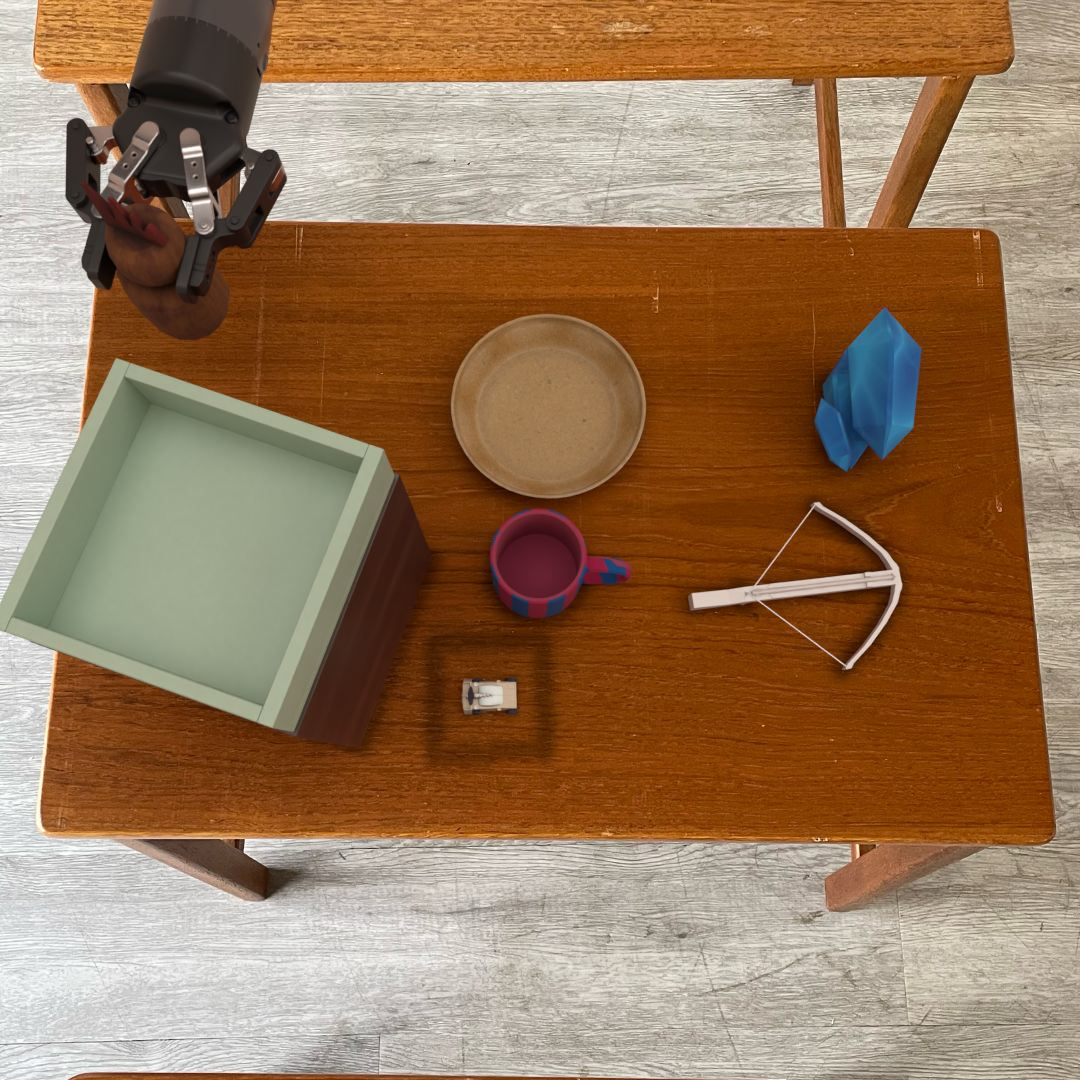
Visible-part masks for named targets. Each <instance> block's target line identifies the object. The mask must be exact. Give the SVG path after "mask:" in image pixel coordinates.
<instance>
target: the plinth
mask: <svg viewBox="0 0 1080 1080" xmlns="http://www.w3.org/2000/svg"><path fill="white" fill-rule="evenodd" d="M393 473H394V479H393V482H392V484H391V487H390V490H389V492H388V495H387V497H386V500H385V502H384V505H383V507H382V510H381V512H380V515H379V517H378V520H377V522H376V525H375V527H374V530H373V533H372V535H371V538H370V540H369V543H368V545H367V548H366V550H365V553H364V555H363V558H362V560H361V563H360V565H359V568H358V571H357V573H356V576H355V578H354V581H353V583H352V586H351V588H350V591H349V593H348V596H347V598H346V601H345V603H344V606H343V608H342V611H341V614H340V616H339V619H338V621H337V624H336V626H335V629H334V631H333V634H332V636H331V639H330V641H329V644H328V646H327V649H326V652H325V654H324V657H323V659H322V662H321V664H320V667H319V669H318V672H317V674H316V677H315V679H314V682H313V684H312V687H311V689H310V692H309V695H308V697H307V700H306V702H305V705H304V707H303V710H302V712H301V715H300V717H299V720H298V722H297V725H296V727H295V730H294V731H293V732H291V731H285V730H280V729H275V728H271V727H268V726H265V725H262V724H259V723H257V722H254V721H251V720H248V719H246V718H243V717H240V716H237V715H234V714H232V713H229V712H226V711H223V710H221V709H218V708H215V707H212V706H209V705H207V704H204V703H201V702H198V701H195V700H193V699H190V698H187V697H184V696H182V695H179V694H176V693H173V692H170V691H168V690H165V689H162V688H159V687H156V686H154V685H151V684H148V683H145V682H143V681H140V680H137V679H134V678H131V677H129V676H126V675H123V674H120V673H117V672H115V671H112V670H109V669H106V668H104V667H101V666H98V665H95V664H92V663H90V662H87V661H84V660H81V659H78V658H76V657H73V656H70V655H67V654H65V653H62V652H59V651H56V650H53V649H51V648H48V647H45V646H42V645H39V644H37V643H34V642H31V641H29V642H30V643H32V644H35V645H37V646H41V647H44V648H46V649H49V650H52V651H54V652H57V653H60V654H63V655H66V656H68V657H70V658H74V659H76V660H80V661H82V662H84V663H88V664H91V665H94V666H96V667H99V668H102V669H105V670H107V671H110V672H113V673H115V674H119V675H121V676H124V677H127V678H130V679H132V680H136V681H138V682H141V683H144V684H146V685H150V686H152V687H155V688H156V689H157V688H158V689H160V690H163V691H166V692H169V693H172V694H174V695H177V696H180V697H182V698H186V699H187V700H190V701H194V702H197V703H199V704H201V705H205V706H208V707H210V708H213V709H216V710H219V711H221V712H224V713H227V714H229V715H232V716H236V717H238V718H241V719H243V720H246V721H248V722H249V721H250V722H252V723H255V724H258V725H261V726H263V727H266V728H269V729H272V730H275V731H278V732H280V733H283V734H286V735H288V736H292V737H294V738H298V739H305V740H311V741H316V742H322V743H328V744H333V745H339V746H344V747H345V746H346V747H351V748H358V749H361V746H362V744H363V742H364V738H365V736H366V734H367V730H368V728H369V725H370V722H371V720H372V717H373V714H374V712H375V709H376V708H377V707H376V706H377V704H378V701H379V700H380V699H379V698H380V697H381V694H382V691H383V688H384V686H385V683H386V680H387V677H388V675H389V672H390V670H391V667H392V664H393V661H394V659H395V657H396V654H397V652H398V649H399V646H400V643H401V641H402V639H403V635H404V633H405V630H406V627H407V625H408V622H409V619H410V617H411V615H412V611H413V609H414V606H415V603H416V602H417V599H418V596H419V594H420V590H421V588H422V586H423V583H424V580H425V577H426V574H427V573H428V570H429V567H430V565H431V561H432V559H433V555H432V552H431V550H430V547H429V544H428V542H427V539H426V537H425V535H424V532H423V530H422V527H421V524H420V522H419V519H418V517H417V515H416V512H415V510H414V507H413V504H412V502H411V499H410V497H409V494H408V491H407V488H406V486H405V483H404V482H403V479H402V476H401V474H400V473H398V472H395V471H393Z"/></svg>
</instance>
